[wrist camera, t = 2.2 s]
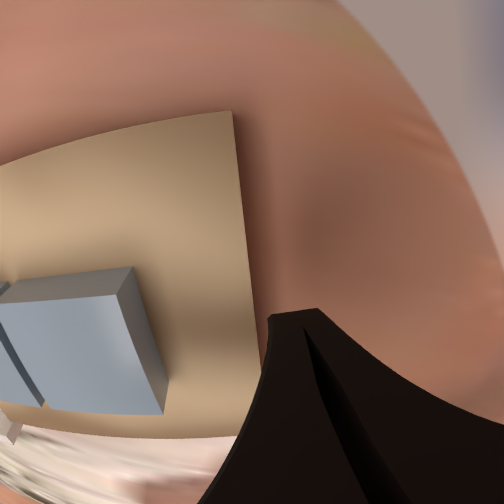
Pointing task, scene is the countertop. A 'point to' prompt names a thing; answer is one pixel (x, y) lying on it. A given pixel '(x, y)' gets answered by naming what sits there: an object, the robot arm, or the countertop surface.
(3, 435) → the tray
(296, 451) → the robot arm
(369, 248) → the countertop surface
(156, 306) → the board
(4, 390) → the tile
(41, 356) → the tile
